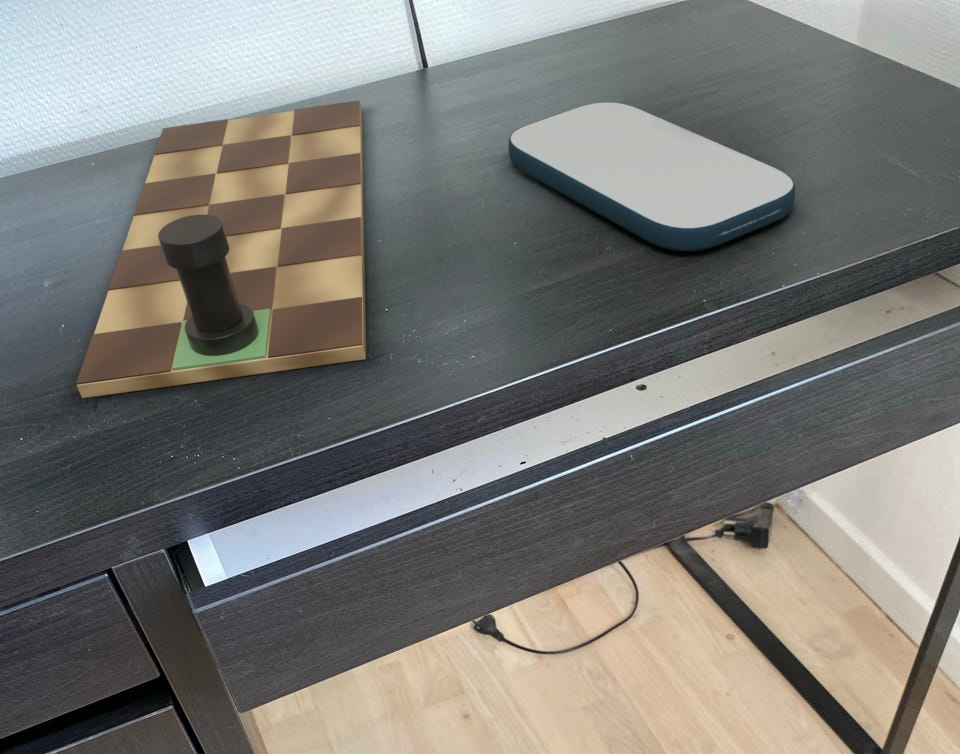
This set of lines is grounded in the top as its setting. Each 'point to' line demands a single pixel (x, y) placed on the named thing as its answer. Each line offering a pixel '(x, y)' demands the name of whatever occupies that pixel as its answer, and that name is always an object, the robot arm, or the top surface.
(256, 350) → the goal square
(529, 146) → the external hard drive
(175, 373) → the chessboard
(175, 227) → the rook
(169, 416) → the top surface
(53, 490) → the top surface
